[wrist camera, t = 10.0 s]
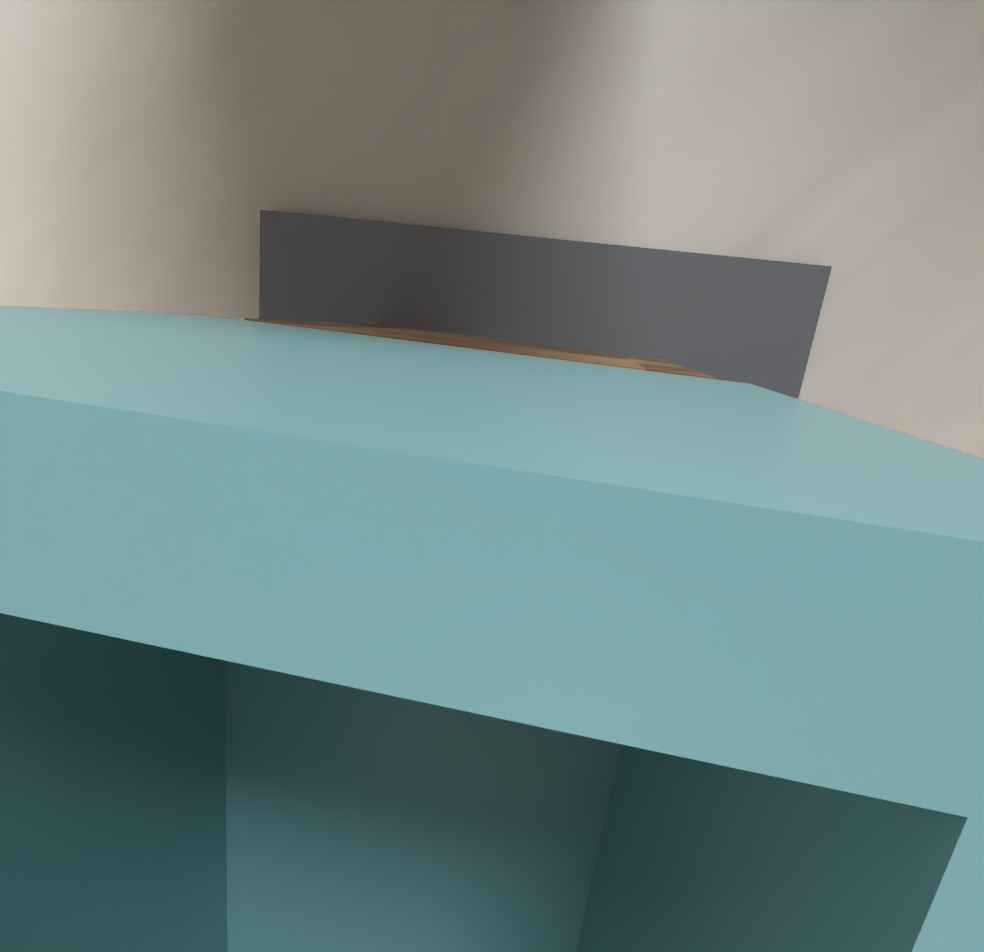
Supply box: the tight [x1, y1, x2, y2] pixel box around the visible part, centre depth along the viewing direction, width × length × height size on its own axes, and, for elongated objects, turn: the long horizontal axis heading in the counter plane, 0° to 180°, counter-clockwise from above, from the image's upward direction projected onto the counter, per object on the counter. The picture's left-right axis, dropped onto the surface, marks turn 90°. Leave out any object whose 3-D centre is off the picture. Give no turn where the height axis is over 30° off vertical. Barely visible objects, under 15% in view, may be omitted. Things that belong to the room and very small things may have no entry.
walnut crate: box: [245, 318, 716, 379], centre depth 13 cm, size 7×13×6 cm, turn 173°
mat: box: [260, 210, 831, 399], centre depth 16 cm, size 14×18×1 cm
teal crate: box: [0, 306, 984, 952], centre depth 7 cm, size 7×13×8 cm, turn 173°
